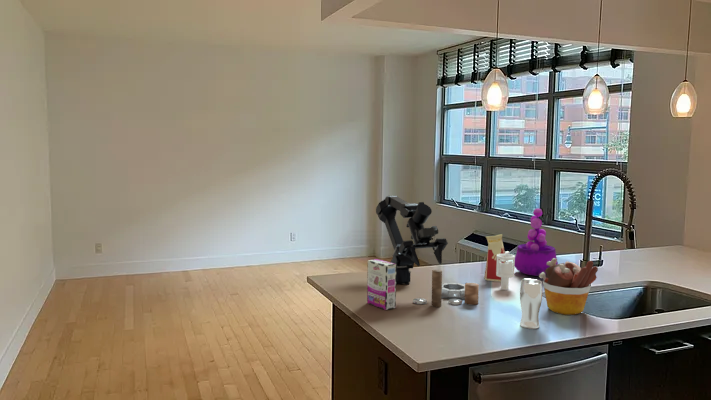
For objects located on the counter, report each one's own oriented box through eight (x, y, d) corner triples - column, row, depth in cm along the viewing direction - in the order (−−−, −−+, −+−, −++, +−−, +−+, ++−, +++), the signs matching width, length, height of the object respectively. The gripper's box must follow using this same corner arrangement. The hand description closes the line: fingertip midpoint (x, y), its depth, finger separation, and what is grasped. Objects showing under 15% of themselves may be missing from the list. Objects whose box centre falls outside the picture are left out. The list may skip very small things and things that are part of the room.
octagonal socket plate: (433, 298, 214) (433, 290, 214) (432, 289, 226) (432, 282, 226) (475, 299, 212) (476, 291, 212) (473, 291, 224) (473, 283, 224)
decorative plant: (560, 280, 240) (564, 211, 237) (516, 278, 243) (518, 210, 240) (553, 270, 259) (556, 206, 255) (511, 268, 262) (514, 205, 258)
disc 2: (448, 305, 206) (448, 302, 206) (448, 301, 211) (448, 298, 211) (462, 306, 205) (462, 302, 205) (461, 302, 210) (461, 299, 210)
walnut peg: (431, 306, 204) (432, 271, 202) (431, 303, 207) (432, 269, 206) (441, 307, 203) (442, 272, 202) (441, 304, 207) (441, 269, 205)
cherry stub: (464, 304, 206) (465, 286, 205) (464, 300, 211) (464, 282, 210) (478, 305, 206) (479, 286, 205) (477, 301, 211) (478, 283, 210)
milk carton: (506, 277, 246) (507, 232, 244) (504, 282, 238) (506, 235, 235) (485, 275, 249) (486, 231, 247) (482, 280, 240) (484, 234, 238)
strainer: (515, 287, 229) (516, 252, 227) (511, 292, 223) (512, 255, 221) (498, 285, 232) (499, 250, 230) (493, 289, 226) (494, 253, 224)
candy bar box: (396, 308, 202) (397, 263, 200) (386, 310, 199) (386, 265, 197) (376, 300, 210) (377, 258, 209) (366, 303, 207) (366, 259, 206)
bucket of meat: (528, 306, 204) (530, 253, 202) (559, 300, 212) (561, 248, 210) (574, 322, 187) (577, 264, 184) (606, 315, 195) (609, 259, 193)
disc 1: (413, 305, 207) (413, 301, 207) (413, 301, 212) (413, 297, 211) (426, 305, 206) (426, 302, 206) (426, 301, 211) (426, 298, 211)
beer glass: (515, 322, 187) (517, 278, 185) (535, 322, 187) (537, 278, 186) (523, 329, 180) (525, 284, 178) (544, 329, 181) (546, 283, 179)
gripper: (402, 220, 211) (414, 255, 202) (446, 217, 217) (460, 252, 209) (393, 236, 219) (405, 270, 211) (436, 233, 226) (448, 267, 217)
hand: (430, 264), depth 211 cm, fingers open, 9 cm apart
